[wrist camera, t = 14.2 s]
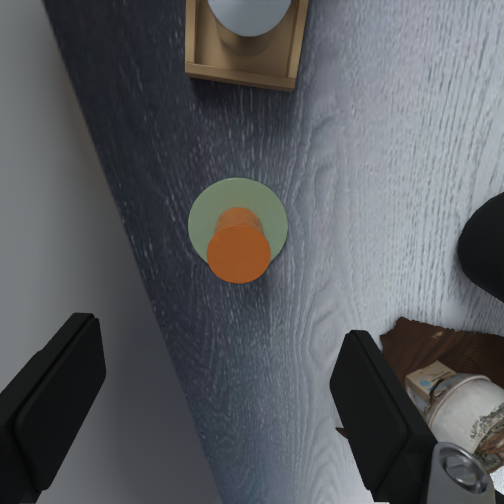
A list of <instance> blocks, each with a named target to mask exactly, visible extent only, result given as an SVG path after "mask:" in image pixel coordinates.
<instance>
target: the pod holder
mask: <svg viewBox="0 0 504 504" xmlns="http://www.w3.org/2000/svg"><path fill="white" fill-rule="evenodd" d="M308 3H309V0H291V3H290V6H289V8H288V10H287V12H286V14H285V16H284V18H283V19H282V20H281V22H280V23H279V24H278V27H277V29H276V32H275V35H274V37H273V39H272V41H271V43H270V44H269V45H268V47H267V48H266V49H265V50H263V51H262V52H261V53H259V54H257V55H255V56H250V57H244V56H239V55H237V54H235V53H233V52H232V51H230V50H229V49H228V48H227V47H226V46H225V45H224V43H223V42H222V40H221V38H220V36H219V34H218V31H217V27H216V23H215V18H214V15H213V13H212V11H211V9H210V7H209V5H208V2H207V0H186V34H185V62H186V63H185V73H186V74H187V75H188V76H189V77H191V78H198V79H204V80H211V81H218V82H224V83H231V84H238V85H244V86H251V87H258V88H264V89H271V90H278V91H285V92H291V91H292V90H293V89H295V83H296V77H297V71H298V65H299V59H300V53H301V46H302V40H303V34H304V28H305V22H306V15H307V9H308Z"/></svg>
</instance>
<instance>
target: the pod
mask: <svg viewBox="0 0 504 504" xmlns="http://www.w3.org/2000/svg"><path fill="white" fill-rule="evenodd" d="M270 258H271V250H270V246H269V243H268V241H267V239H266V238H265V236H264V233H263V228H262V224H261V221H260V219H259V218H258V216H257V215H256V214H255V213H254V212H252V211H251V210H249V209H246V208H241V207H237V208H231V209H229V210H227V211H225V212H224V213H223V214H222V215H221V216H220V217H219V218H218V220H217V223H216V227H215V231H214V235H213V237H212V238H211V240H210V242H209V244H208V248H207V261H208V264H209V266H210V268H211V270H212V271H213V272H214V273H215V274H216V275H217V276H218V277H219V278H221V279H223V280H225V281H227V282H231V283H247V282H250V281H253V280H255V279H257V278H258V277H259V276H261V275H262V274H263V273H264V272H265V270H266V269H267V267H268V265H269V263H270Z"/></svg>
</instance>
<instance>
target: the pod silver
mask: <svg viewBox="0 0 504 504" xmlns="http://www.w3.org/2000/svg"><path fill="white" fill-rule="evenodd" d="M207 2H208V5H209V7H210V9H211V11H212V13H213V15H214V18H215V23H216V27H217V31H218V34H219V36H220V38H221V40H222V42H223V43H224V45H225V46H226V47H227V48H228V49H229V50H230V51H232V52H233V53H235V54H237V55H239V56H244V57H250V56H255V55H257V54H259V53H261V52H262V51H263V50H265V49H266V48H267V47H268V45H269V44H270V43H271V41H272V39H273V37H274V35H275V32H276V29H277V27H278V24H279V23H280V22H281V20H282V19H283V18H284V16H285V14H286V12H287V10H288V8H289V6H290V3H291V0H207Z"/></svg>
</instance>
